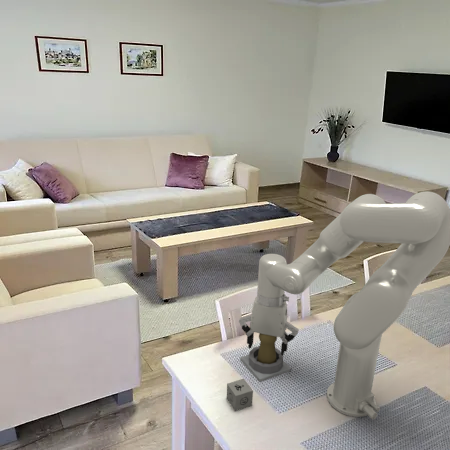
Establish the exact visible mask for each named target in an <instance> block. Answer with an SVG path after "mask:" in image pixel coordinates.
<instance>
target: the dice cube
mask: <svg viewBox="0 0 450 450" xmlns="http://www.w3.org/2000/svg"><path fill="white" fill-rule="evenodd" d="M253 397H254V390H253V388H252V387H251V385H249V383H248V382H247V381H246V379H245V378H242V379H238V380H235V381H231V382H227V384H226V400H227V401H228V403H229V404H230V407H231V408H232V409H233V411H234V412H239V411H241V410H244V409H246V408H249V407H252V406H253Z"/></svg>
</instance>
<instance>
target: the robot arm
mask: <svg viewBox="0 0 450 450" xmlns="http://www.w3.org/2000/svg"><path fill="white" fill-rule="evenodd" d="M364 242H365V243H377V244H378V243H382V244H383V243H384V244H400V245H399V246H398V247H397V249H396V250H395V251H394V253H392V255H391V256H389V258H388V259H387V260H386V261H385V262H384V263H383V264H382V265H381V266H380V267H379V268H377V269H376V270H375V271H374V272H373V273H372V274H371V275H370V277H369V278H368V280H367V281H366V283H365V284H364V285H363V287H362V288H361V289H360V290H359V291H357V292H356V293H354V294H352V295H351V296H350V297H349V299H348V300H347V301H346V302H345V304H344V305H343V306H342V308H341V309H340V311H339V312H338V314H337V315H336V317H335V319H334V321H333V333H334V336H335V338H336V339H337V341H338V342H339V346H338V347H339V348H338V355H337V362H336V368H335V375H334V382H333V383H331V384H330V385H329V386H328V387H327V390H326V398H327V401H328V403H329V404H330V405H331V406H332V407H333V408H334V409H335V410H336V411H338V412H339V413H342V414H344V415H346V416H350V417H354V418H357V417H358V418H361V417H362V418H363V417H366V416H368V417H369V418H370V419H371V420H376V418H377V417H378V413H379V412H380V411H381V408H380V406H379V405H377V403H376V402H377V401H376V398H375V394H374V393H373V392H372V391H373V386H374V385H373V384H374V380H375V379H374V378H375V372H376V370H377V369H376V368H377V367H376V366H377V362H378V357H379V352H380V346H381V343H382V341H381V340H382V337H383V334H384V333H385V332H386V331H387V330H388V329H389V328H390V327H391V326H392V325H393V324H394V323H395V322H396V321H398V319H399V318H400V317H401V315H402V314H403V313H404V312H405V310H406V308H407V306H408V304H409V302H410V299H411V297H412V295H413V293H414V291H415V290H416V289H417V287H419V285H420V284H422V283H423V281H424V280H425V279H426V278H427V277H428V276H429V275H430V273H432V271H433V270H434V269H435V268H436V267H437V265H439V264H440V262H441V261H442V260H443V259H444V257H445V255H446V254H447V252H448V250H449V247H450V206H449V205H448V203H447V201H446V199H444V197H442V196H441V195H440V194H438V193H436V192H432V191H421V192H417V193H415V194H413V195H412V196H411V197H409V198H408V199H407V200H406V201H405V202H404V203H387V202H386V201H385V200H384V199H383V198H382V197H381V196H378V195H376V194H373V193H366V194H363V195H360V196H358V197H357V198H356V199H354V200H353V201H351V202H350V203H349V204H348V205H346V207H344V209H343V210H342V212H340V213H339V215H337V217H336V218H334V219H333V220H332V221H331V222H330V223H329V224H327V226H325V228H323V230H322V231H321V232H320V234H319V237H318V239H316V240H315V241H314V242H313V244H311V245H310V246H309V247H308V248H307V249H306V250H304V252H303V253H302V254H300V255H299V256H297V258H296V259H294V261H291V263H287V259H286V257H284V256H282V255H280V254H277V253H266V254H264V255H262V256H260V259H259V261H258V273H257V274H258V277H257V291H256V296H255V298H254V300H253V304H252V309H251V314H250V315H246V316H243V317H240V318H239V320H238V323H239V324H240V326H241V330H242V331H243V332H244V333H245V336H246V344H247V345H248V346H247V348H248V349H252V348H253V347H252V346H253V344H254V338H255V337H254V336H255V335H254V333H256V334H259V333H261V334H265V335H270V336H275V337H277V338H280V340H281V341H282V342H281V349H280V352H281V355H283V356H284V354H285V352H287V351H288V343H289V342H291V341H293V340H294V339H295V337H297V335H298V334H299V331H300V329H299V328H297V326H295V325H293V324H292V323H290V322H288V306H287V305H288V304H287V302H290V296H288V295H286V293H289V294H291V295H295V296H296V295H297V296H298V295H301V294H302V293H304V292H305V291H306V290H307V289H308V288H309V287H310V286H311V285H312V283H314V282H315V281H316V280H317V279H318V278H319V277H320V276H321V275H322V274H323V273H324V272H325V271H326V270H327V269H328V268H330V266H332V265H333V264H334V263H336V262H337V261H339V260H340V259H344V258H346V257H348V256H349V255H351V253H353V251H355V250H356V249H357V248H359V246H361V244H363V243H364ZM248 322H250V323H249V325H248V324H247V323H248ZM286 330H288V331H290V332H291V333H289V334H288V333H287V331H286Z"/></svg>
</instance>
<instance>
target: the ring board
mask: <svg viewBox="0 0 450 450" xmlns="http://www.w3.org/2000/svg"><path fill="white" fill-rule="evenodd" d="M259 347H260V345H258V346H255V347H252V348H251V350H250V351H249V353H248V354H247V355H244V356H241V357H240V358H239V359H240V362H242V364H243V365H244V366H245V368H247V370H249V372H250V373H251V374H252V376H253V377H254V378H255V379H256V380H257V381H258V383H262V382H264V381H268V380H270V379H274V378H276V377H279V376H282V375H284V374H287V373H291V372H292V370H293V369H292V367H291V366H290V365H289V364H288V363H287V362H286V361H285V360H284V355H281V350H279V349H278V348H277V347H275V350H276V361H277V362H275V363H272V364H263V363H260V362H258V361H257V357H258V352H259Z"/></svg>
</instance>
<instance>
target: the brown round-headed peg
mask: <svg viewBox="0 0 450 450" xmlns="http://www.w3.org/2000/svg"><path fill="white" fill-rule="evenodd" d="M258 339H259V341H260V343H259V346H260V347H259V352H258V357H257V361H258V362H260V363H263V364H272V363H275V362H277V361H276V350H275V348H276V342H277V339H278V337H275V336H270V335H265V334H261V333H258Z"/></svg>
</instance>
